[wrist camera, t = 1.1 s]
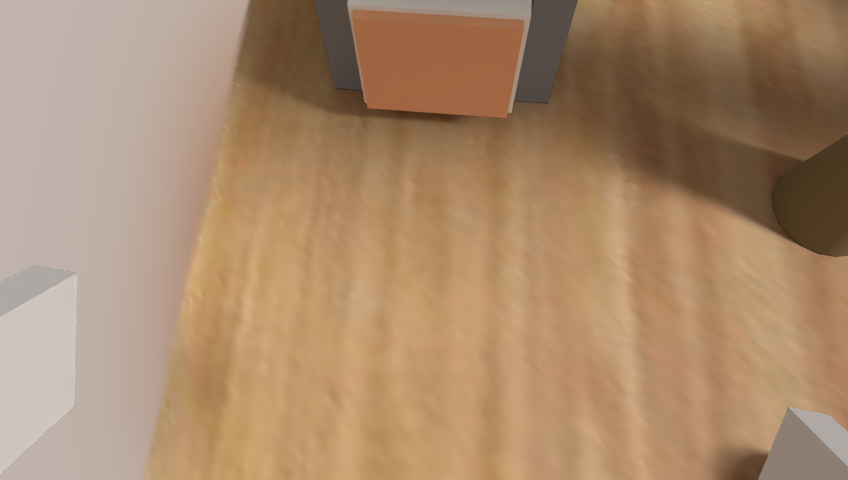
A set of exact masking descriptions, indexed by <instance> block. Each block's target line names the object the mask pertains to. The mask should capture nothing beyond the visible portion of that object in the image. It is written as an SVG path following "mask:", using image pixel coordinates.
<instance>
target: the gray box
mask: <svg viewBox="0 0 848 480" xmlns="http://www.w3.org/2000/svg"><path fill="white" fill-rule="evenodd" d="M577 1H578V0H532V9H531V20H530V25H529V29H528V34H527V39H526V44H525V49H524V54H523V59H522V64H521V69H520V74H519V79H518V83H517V88H516V93H515V98H514V101H525V102H540V103H548V100H549V97H550V94H551V90H552V87H553V83H554V80H555V76H556V73H557V70H558V66H559V63H560V59H561V56H562V52H563V49H564V46H565V42H566V39H567V35H568V32H569V28H570V25H571V22H572V18H573V15H574V11H575V8H576V4H577ZM314 3H315V7H316V11H317V15H318V19H319V23H320V27H321V31H322V35H323V40H324V44H325V48H326V52H327V56H328V60H329V64H330V68H331V72H332V76H333V81H334V85H335V88H339V89H353V90H362V85H361V80H360V74H359V68H358V63H357V57H356V51H355V46H354V40H353V35H352V29H351V23H350V18H349V12H348V6H347V3H348V0H314Z"/></svg>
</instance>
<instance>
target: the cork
mask: <svg viewBox="0 0 848 480" xmlns="http://www.w3.org/2000/svg"><path fill="white" fill-rule="evenodd" d="M773 209H774V211H775V214H776V217H777V220H778V222H779V223H780V225H781V226H782V227H783V229H784V230H785V231H786V233H787V234H788V235H789V236H790V237H791V238H793V239H794V240H795V241H796V242H797V243H799V244H800V245H801V246H803V247H805V248H807V249H809V250H811V251H814V252H816V253H818V254H823V255H828V256H833V257H838V256H848V135H846V136H845V137H843V138H841V139H840V140H838V141H837V142H835V143H833V144H832V145H830V146H829V147H827V148H825V149H824V150H822V151H821V152H819V153H817V154H816V155H814V156H813V157H811V158H809V159H808V160H806V161H805V162H803V163H801V164H800V165H798V166H797V167H795V168H793V169H792V170H790V171H789V172H787V173H786V174H785V175H784V176H783V177H782V178H781V179H780V180H779V181H778V182H777V185H776V187H775V190H774V192H773Z"/></svg>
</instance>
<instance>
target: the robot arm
mask: <svg viewBox="0 0 848 480" xmlns="http://www.w3.org/2000/svg"><path fill="white" fill-rule="evenodd" d="M76 303H77V273H74V272H69V271H63V270H58V269H53V268H47V267H42V266H36V265H34V266H32V267H30V268H28V269H26V270H24V271H22V272H20V273H18V274H15V275H14V276H12V277H9V278H7V279H5V280H3V281H1V282H0V474H1V473H2V472H3V471H4V470H5V469H6V468H7V467H8V466H9V465H11V464H12V463H13V462H14V461H15V460H16V459H17V458H18V457H19V456H20V455H21V454H22V453H24V452H25V451H26V450H27V449H28V448H29V447H30V446H31V445H32V444H33V443H34V442H35V441H37V440H38V439H39V438H40V437H41V436H42V435H43V434H44V433H45V432H46V431H47V430H48V429H50V428H51V427H52V426H53V425H54V424H55V423H56V422H57V421H58V420H59V419H60V418H61V417H63V416H64V415H65V414H66V413H67V412H68V411H69V410H70V409H71V408H72V407H73V406H74V401H75V399H74V398H75V353H76ZM758 480H848V432H847V431H846V430H845V429H844V428H843V427H842V426H841V425H840V424H839V423H837V422H836V421H835V420H834V419H833V418H832V417H831V416H830V415H828V414H823V413H817V412H812V411H807V410H801V409H796V408H791V407H788V409H787V412H786V414H785V417H784V419H783V421H782V424H781V426H780V428H779V431H778V433H777V436H776V438H775V440H774V443H773V445H772V448H771V450H770V452H769V455H768V457H767V459H766V462H765V464H764V467H763V469H762V471H761V474H760V476H759V479H758Z"/></svg>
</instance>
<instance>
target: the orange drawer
mask: <svg viewBox="0 0 848 480" xmlns="http://www.w3.org/2000/svg"><path fill="white" fill-rule="evenodd" d="M347 6H348V12H349V18H350V23H351V29H352V35H353V40H354V46H355V51H356V57H357V63H358V68H359V74H360V80H361V85H362V91H363V96H364V102H365V103H367V107H368V108H372V109H386V110H400V111H414V112H428V113H442V114H456V115H470V116H484V117H498V118H507V114H508V113H512V108H513V103H514V98H515V93H516V88H517V83H518V79H519V74H520V69H521V64H522V59H523V54H524V49H525V44H526V39H527V34H528V29H529V25H530V20H531V9H532V0H348V3H347Z"/></svg>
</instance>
